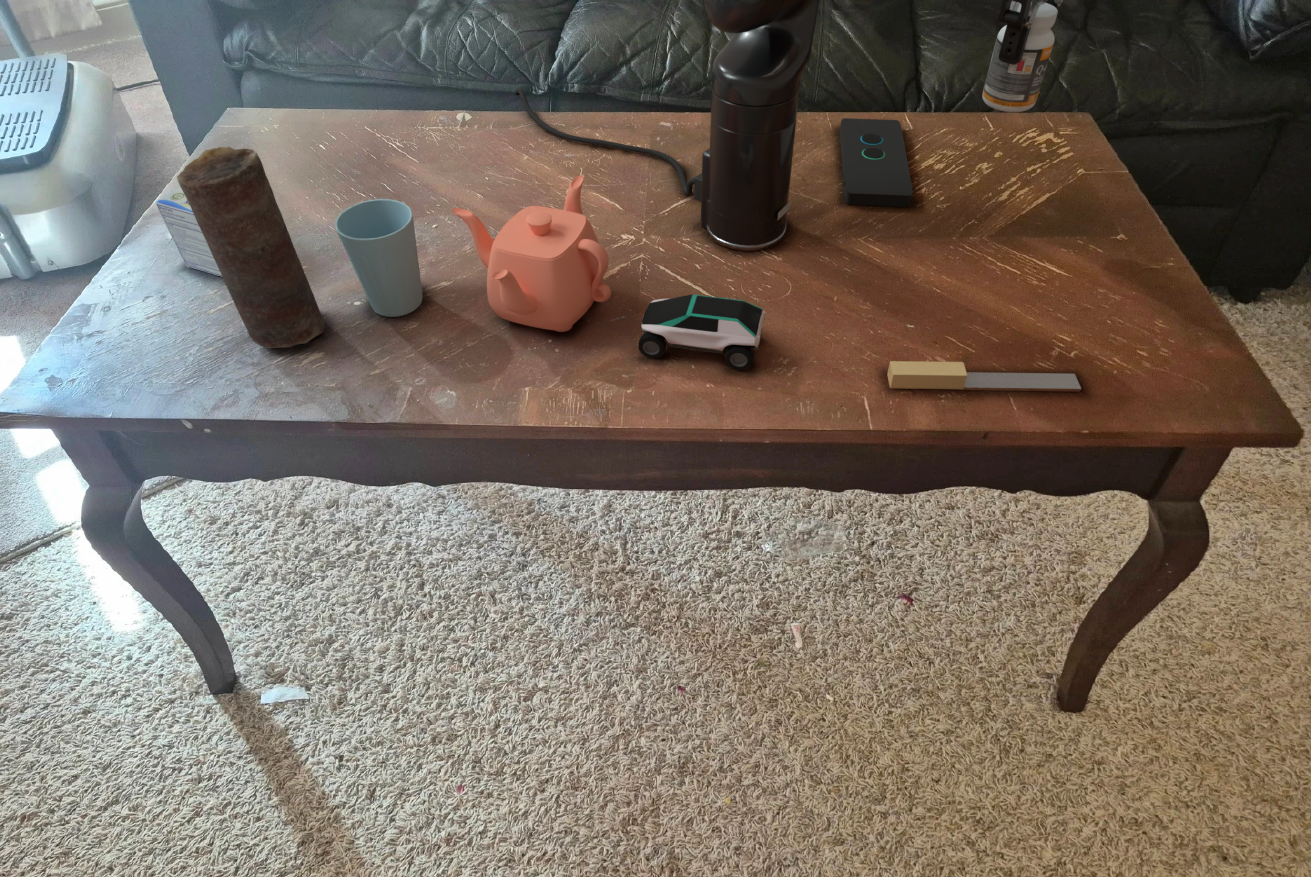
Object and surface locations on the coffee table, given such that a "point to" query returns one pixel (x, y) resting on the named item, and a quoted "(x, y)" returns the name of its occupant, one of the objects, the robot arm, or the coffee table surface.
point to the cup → (383, 254)
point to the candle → (251, 246)
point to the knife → (973, 378)
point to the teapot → (542, 264)
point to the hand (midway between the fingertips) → (1022, 51)
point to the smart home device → (874, 163)
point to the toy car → (703, 327)
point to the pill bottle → (1021, 66)
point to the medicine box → (186, 232)
